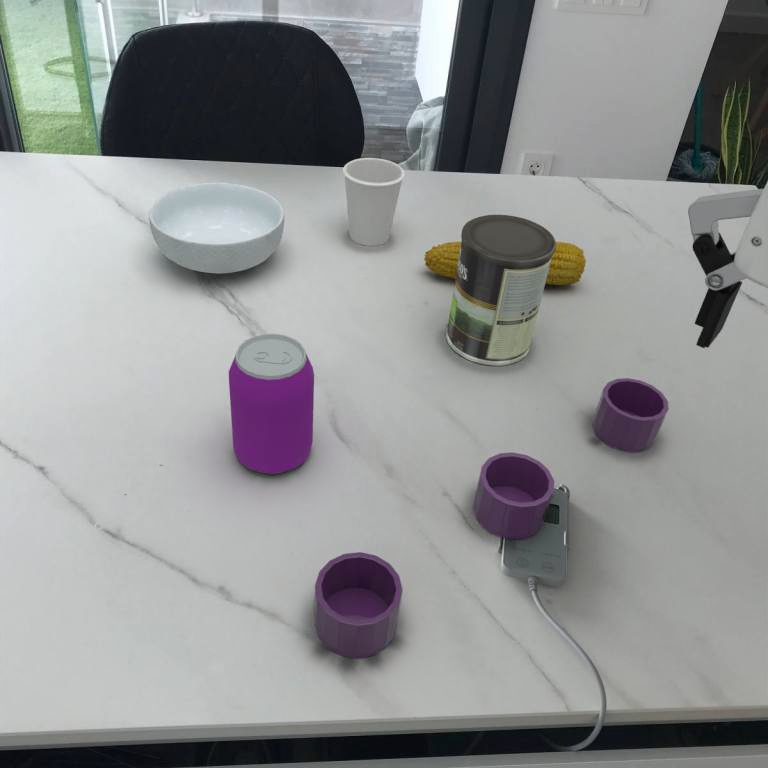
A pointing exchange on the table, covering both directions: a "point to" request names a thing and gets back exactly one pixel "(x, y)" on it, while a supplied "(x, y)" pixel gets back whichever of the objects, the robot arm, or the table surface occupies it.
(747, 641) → the table surface
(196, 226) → the cereal bowl
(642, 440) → the dish far
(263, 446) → the beverage can
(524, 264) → the coffee can
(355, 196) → the dixie cup
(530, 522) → the dish middle
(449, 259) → the food
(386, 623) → the dish near
